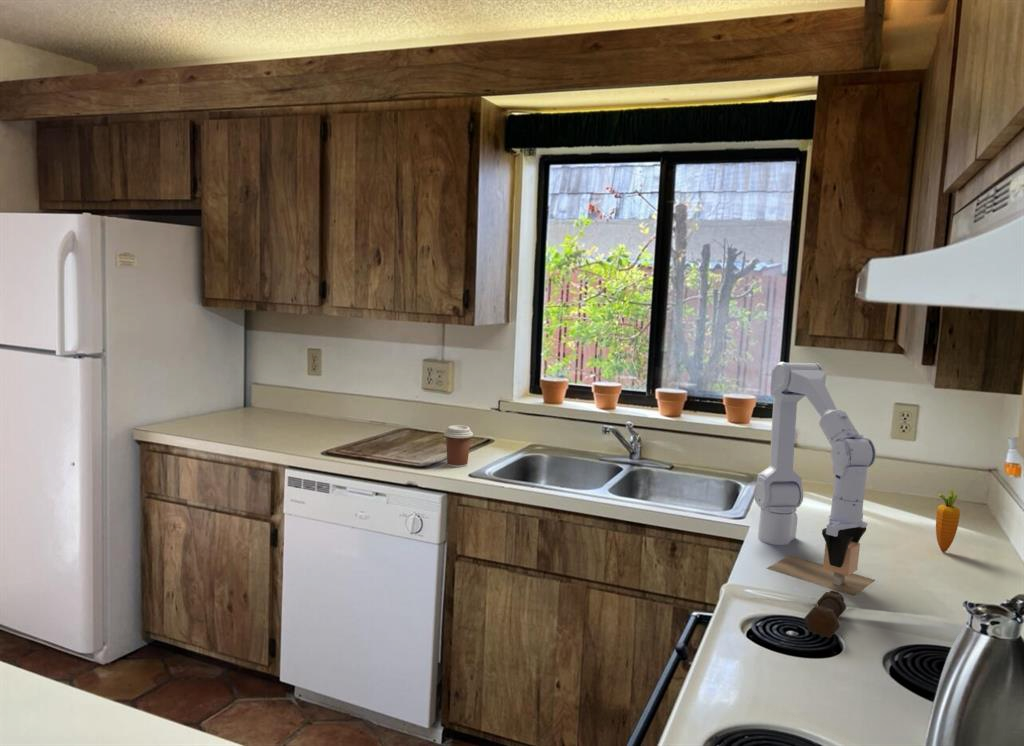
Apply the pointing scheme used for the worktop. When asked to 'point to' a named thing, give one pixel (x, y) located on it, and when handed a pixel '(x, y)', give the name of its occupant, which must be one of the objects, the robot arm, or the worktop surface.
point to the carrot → (947, 521)
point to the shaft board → (821, 575)
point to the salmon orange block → (849, 560)
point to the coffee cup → (458, 445)
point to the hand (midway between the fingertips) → (840, 562)
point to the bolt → (826, 614)
